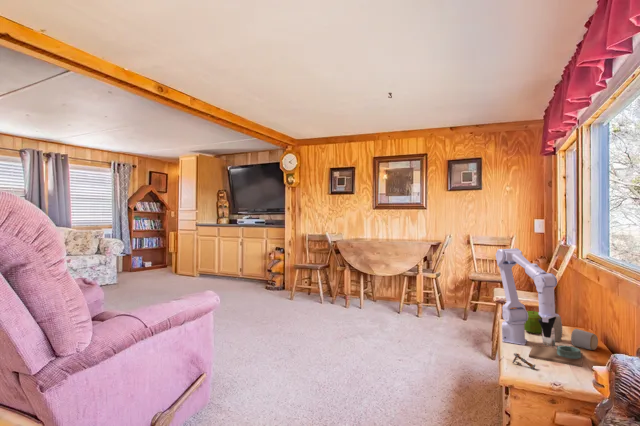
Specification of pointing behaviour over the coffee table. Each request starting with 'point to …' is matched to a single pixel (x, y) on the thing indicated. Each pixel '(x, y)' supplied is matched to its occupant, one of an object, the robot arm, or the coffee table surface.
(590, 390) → the coffee table surface
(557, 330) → the carving
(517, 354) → the wooden post with brackets
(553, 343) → the clear glass jar
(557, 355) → the board
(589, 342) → the grey cylinder
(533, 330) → the apple
